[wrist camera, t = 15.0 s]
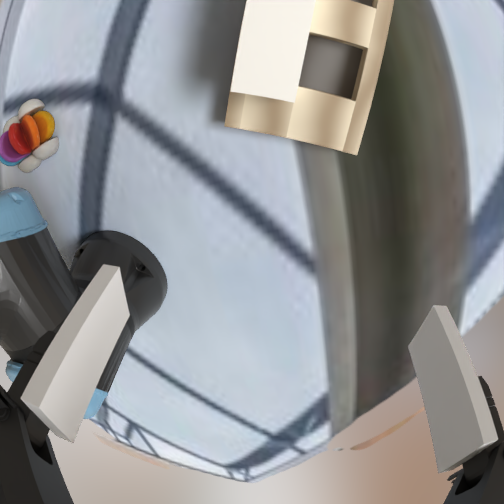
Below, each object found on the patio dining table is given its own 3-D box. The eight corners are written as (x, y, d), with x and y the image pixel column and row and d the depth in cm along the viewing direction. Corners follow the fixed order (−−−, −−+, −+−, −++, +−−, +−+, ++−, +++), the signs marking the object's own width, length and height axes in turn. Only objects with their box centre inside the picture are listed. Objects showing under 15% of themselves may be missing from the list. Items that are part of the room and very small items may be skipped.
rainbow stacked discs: (72, 142, 32) (36, 161, 26) (33, 171, 35) (1, 193, 29) (48, 88, 28) (9, 100, 22) (11, 124, 31) (-23, 140, 25)
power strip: (243, 86, 27) (229, 92, 21) (272, -64, 17) (267, -96, 11) (293, 95, 27) (294, 103, 21) (323, -56, 17) (332, -86, 11)
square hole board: (229, 121, 30) (224, 126, 28) (271, -88, 15) (269, -98, 13) (352, 148, 30) (356, 155, 28) (395, -58, 15) (403, -65, 13)
